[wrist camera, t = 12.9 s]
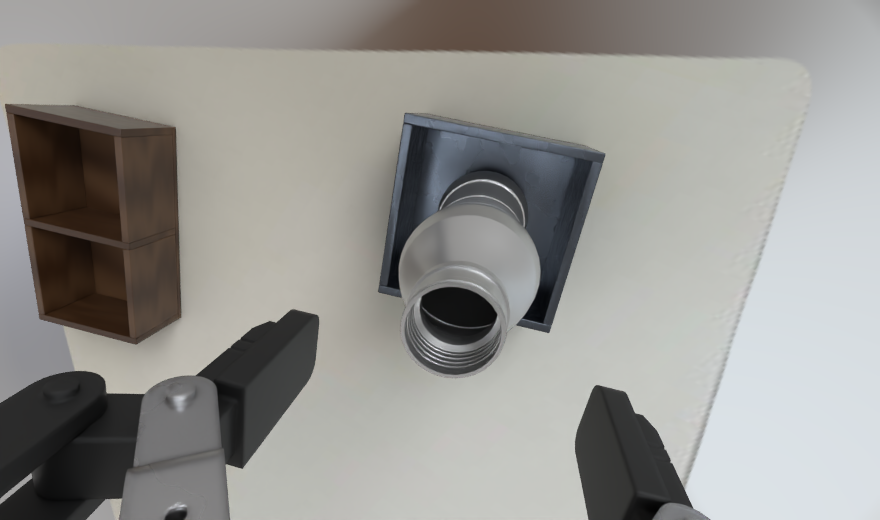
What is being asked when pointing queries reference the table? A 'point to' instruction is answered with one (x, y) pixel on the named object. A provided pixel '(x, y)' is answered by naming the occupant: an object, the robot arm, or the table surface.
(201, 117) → the table surface
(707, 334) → the table surface
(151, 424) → the robot arm
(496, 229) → the silver metal bottle
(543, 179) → the dark grey open box
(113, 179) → the divided box
